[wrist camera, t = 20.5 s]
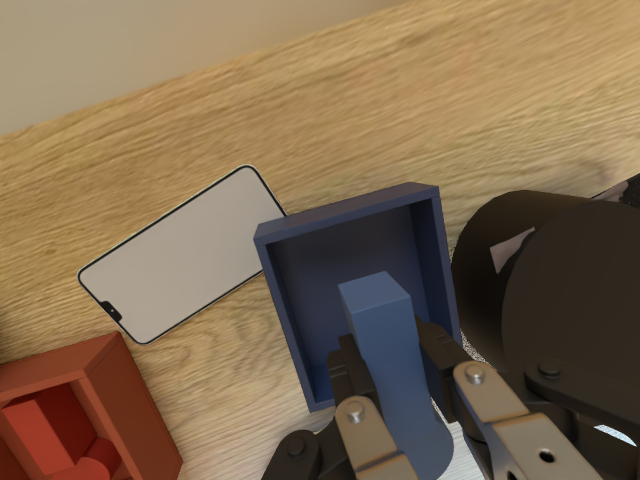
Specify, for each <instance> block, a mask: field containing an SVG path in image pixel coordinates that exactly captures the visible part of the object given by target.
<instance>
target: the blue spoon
mask: <svg viewBox="0 0 640 480" xmlns="http://www.w3.org/2000/svg"><path fill="white" fill-rule="evenodd" d="M338 290H339V294H340V297H341V301H342V305H343V309H344V312H345V316H346V320H347V324H348V327H349V331H350V333H352V335H353V338H354V340H355V343H356V345H357V348H358V350H359V353H360V355H361V358H362V359H364V360H365V362H366V365H367V367H368V370H369V372H370V374H371V377H372V379H373V382H374V384H375V386H376V389H377V393H378V397H379V401H380V405H381V409H382V413H383V417H384V421H385V425H386V427H387V429H388V431H389V433H390V434H391V436H392V438H393V440H394V442H395V444H396V446H397V448H398V449H399V451H400V450H403V451H404V452H405V454H406V455H407V457H408V459H409V461H410V463H411V464H412V466H413V468H414V470H415V472H416V473H417V475H418V477H419V479H420V480H437V479H438V478H439V477H440V476H441V475H442V474H443V473H444V472H445V470H446V469H447V467H448V466H449V464H450V462H451V460H452V457H453V452H454V444H453V439H452V435H451V433H450V431H449V430H448V428H447V427H446V425H445V423H444V422H443V420H442V419H441V417H440V416H439V414H438V412H437V411H436V409H435V408H434V406H433V404H432V400H431V395H430V394H429V391H428V386H427V382H426V377H425V372H424V367H423V362H422V357H421V352H420V347H419V342H420V341H419V336H418V331H417V327H416V322H415V317H414V312H413V307H412V302H411V297H410V295H409V294H408V293H407V292H406V291H405V290H404V289H403V288H402V287H401V286H400V285H399V284H398V283H397V282H396V281H395V280H394V279H393V278H392V277H391V276H390V275H389V274H388V273H387V272H386V271H383V272H379V273H376V274H372V275H369V276H366V277H362V278H359V279H355V280H352V281H348V282H345V283H342V284H338Z"/></svg>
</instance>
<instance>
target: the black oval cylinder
mask: <svg viewBox="0 0 640 480" xmlns="http://www.w3.org/2000/svg"><path fill="white" fill-rule="evenodd" d="M451 271H452V278H453V284H454V291H455V297H456V304H457V310H458V317H459V323H460V328H461V330H462V331H463V333H464V335H465V337H466V338H467V340H468V341H469V342H470V344H471V345H472V346H473V347H474V348H475V350H476V351H477V352H478V353H479V354H480V355H481V356H482V357H483V358H484V359H485V360H486V361H487V362H488V363H489V364H490V365H491V366H492V367H493V368H495V369H496V370H497V371H498V372H521V371H524V367H523V366H524V364H525V362H526V361H527V360H529V359H531V358H534V357H551V358H556V359H559V360H562V361H565V362H568V363H571V364H574V365H577V366H580V367H583V368H586V369H589V370H591V371H594V372H597V373H600V374H603V375H606V376H609V377H612V378H615V379H618V380H621V381H624V382H627V383H630V384H633V385H636V386H639V387H640V173H639V174H637V175H635V176H633V177H631V178H629V179H627V180H625V181H623V182H621V183H619V184H617V185H615V186H613V187H612V188H610V189H608V190H606V191H604V192H602V193H600V194H598V195H596V196H594V197H592V198H583V197H575V196H568V195H560V194H553V193H545V192H537V191H530V190H520V191H513V192H508V193H505V194H503V195H500V196H498V197H495V198H493V199H492V200H491V201H489V202H488V203H486V204H485V205H484V206H482V207H481V208H480V209H479V210H478V211H477V212H476V213H475V214H474V215H473V217H472V218H471V219H470V220H469V221H468V223H467V224H466V226H465V228H464V230H463V231H462V233H461V235H460V237H459V239H458V242H457V245H456V248H455V251H454V254H453V258H452V265H451ZM579 421H581V422H583V423H585V424H587V425H589V426H592V427H594V426H599V425H603V424H601V423H599V422H596V421H594V420H592V419H590V418H587V417H585V416H583V415H581V414H579Z"/></svg>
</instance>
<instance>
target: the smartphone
mask: <svg viewBox="0 0 640 480" xmlns="http://www.w3.org/2000/svg"><path fill="white" fill-rule="evenodd" d="M275 198H276V196H275V195H274V193H273V192H272V190H271V188H270V187H269V185H268V184H267V182H266V181H265V179H264V178H263V176H262V175H261V173H260V172H259V171H258V169H257V168H256V167H254V166H252V165H250V164H243V165H240V166H238V167H237V168H235V169H234V170H232V171H230V172H229V173H227V174H226V175H224V176H223V177H221V178H220V179H218V180H216V181H215V182H213V183H212V184H210V185H209V186H207V187H206V188H204V189H202V190H201V191H199V192H198V193H196V194H195V195H193V196H192V197H190V198H188V199H187V200H185V201H184V202H182V203H181V204H179V205H178V206H176V207H174V208H173V209H171V210H170V211H168V212H167V213H168V214H167V213H165V214H164V215H162V216H161V217H159V218H157V219H156V220H154V221H153V222H154V223H153V222H151V223H150V224H148V225H147V226H145V227H143V228H142V229H140V230H139V231H137V232H136V233H134V234H133V235H130V236H129V237H127V238H126V239H124V240H122V241H121V242H119V243H118V244H116V245H115V246H113V247H112V248H111V249H109V250H108V251H109V252H108V251H106V252H105V253H103V254H102V255H100V256H98V257H97V258H95V259H94V260H95V261H94V260H92V261H91V262H89V263H88V264H86V265H85V266H83V267H82V268H80V269H79V271H78V272H77V281H78V283H79V284H80V286H81V287H82V288H83V289H84V290H85V291H86V292H87V293H88V294H89V295H90V296H91V297H92V299H93V300H94V301H95V302H96V303H97V304H98V305H99V306H100V307H101V308H102V309H103V310H104V311H105V312H106V313H107V314H108V316H109V317H110V318H111V319H112V320H113V321H114V322H115V323H116V324H117V325H118V326H119V327H120V328H121V329H122V330H123V332H124V333H125V334H126V335H127V336H128V337H129V338H130V339H131V340H132V341H133V342H134V343H136V344H138V345H149V344H151V343H153V342H154V341H156V340H158V339H159V338H161V337H162V336H164V335H165V334H167V333H169V332H170V331H172V330H173V329H175V328H177V327H178V326H180V325H181V324H183V323H184V322H186V321H187V320H189V319H191V318H192V317H194V316H195V315H197V314H199V313H200V312H202V311H203V310H205V309H206V308H208V307H209V306H211V305H213V304H214V303H216V302H217V301H219V300H220V299H222V298H224V297H225V296H227V295H228V294H230V293H231V292H233V291H235V290H236V289H238V288H239V287H241V286H242V285H244V284H246V283H247V282H249V281H250V280H252V279H254V278H255V277H257V276H258V275H260V274H261V273H263V272H264V271H263V268H262V265H261V262H260V259H259V256H258V253H257V250H256V247H255V244H254V241H253V237H254V234H255V231H256V229H257V226H258V224H260V223H264V222H267V221H271V220H274V219H278V218H282V217H285V216H288V214H287V213H286V211H285V210H284V208H283V207H282V205H281V204H280V202H279V201H278V199H277V198H276V199H275ZM122 242H123V243H122Z"/></svg>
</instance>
